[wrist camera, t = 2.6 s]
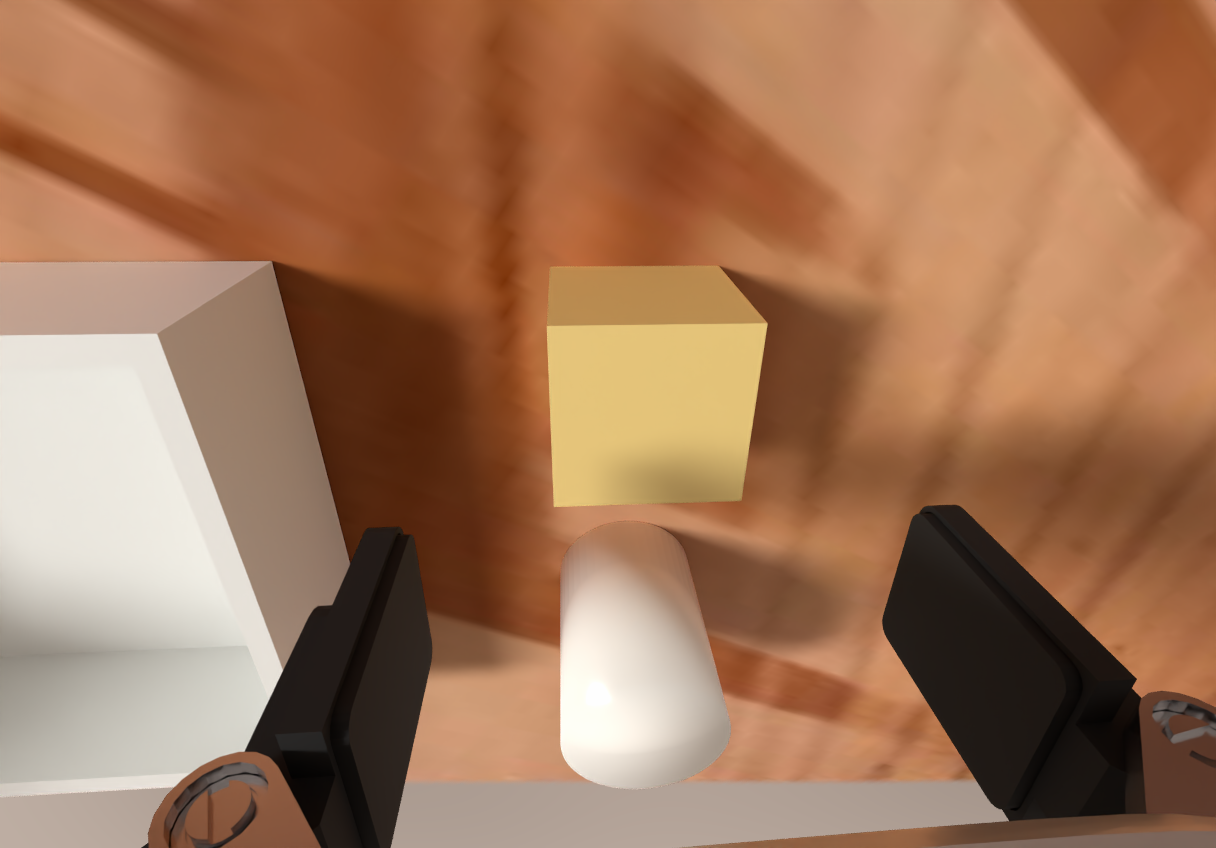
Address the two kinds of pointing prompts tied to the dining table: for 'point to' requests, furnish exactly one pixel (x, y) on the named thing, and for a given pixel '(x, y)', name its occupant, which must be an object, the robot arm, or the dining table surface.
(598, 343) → the mustard block
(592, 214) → the dining table surface
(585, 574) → the white canister
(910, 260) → the dining table surface
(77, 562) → the tote
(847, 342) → the dining table surface
